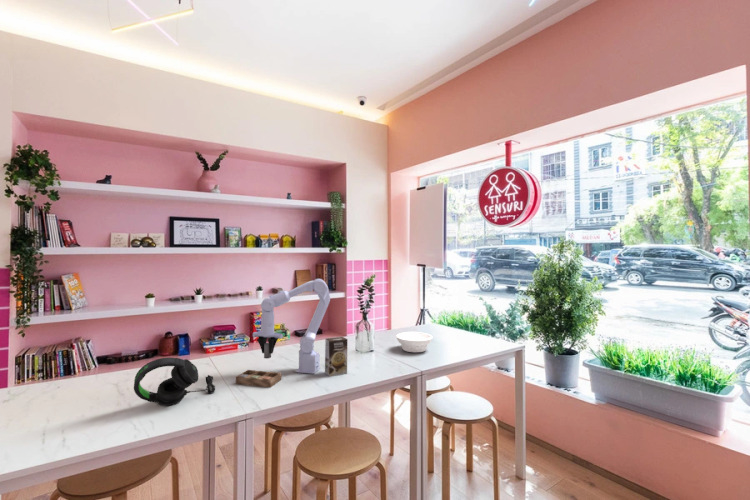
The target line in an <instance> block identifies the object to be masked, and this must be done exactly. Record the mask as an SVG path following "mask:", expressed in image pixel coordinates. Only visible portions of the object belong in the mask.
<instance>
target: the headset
mask: <svg viewBox="0 0 750 500" xmlns="http://www.w3.org/2000/svg"><path fill="white" fill-rule="evenodd" d="M163 367H165V368H166V367H172V369H171V372H170V375H171V377H169V378H167V379H164V380H163V381H161V382H160V383H159V385H158V386H157V390H156V392H153V391H149V390H147V389H145V388H143V387H142V385H141V382H142V381H143V379H144V378H145V377H146V375H147V374H148V373H150V372H152V371H154V370H156V369H159V368H163ZM133 381H134V382H133V391H134V393H135V394H136V396H137V397H138V398H140V399H141V400H143V401H146V402H150V403H153V404H154V403H156V404H158V405H160V406H162V407H171V406H175V405H178V404H179V403H180V402H182V401H183V399H184V398H185V396H187V394H191V393H198V392H205V391H206V392H207V393H208V394H209V395H211V394H214V393H215V392H216V385H214V384H213V382H214V376H213V375H209V374H207V376H205V384H206V387H205V389H203V390H187V388H189V387H190V386H192V384H195V383H197V382H198V381H199V371H198V368H197V366H196V364H194V363H192V361H190V360H189V359H188V358H186V359H182V358H178V357H161V358H157V359H154V360H152V361H150V362H148V363H146V364H144V365H142V367H141V368H140V369H138V371H137V372H136V374H135V377H134V380H133Z"/></svg>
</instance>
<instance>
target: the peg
mask: <svg viewBox="0 0 750 500" xmlns="http://www.w3.org/2000/svg"><path fill="white" fill-rule="evenodd" d="M263 358H264V359H271V358H272V354H269V342H266V343H265V344H264V353H263Z"/></svg>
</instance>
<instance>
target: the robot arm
mask: <svg viewBox="0 0 750 500" xmlns="http://www.w3.org/2000/svg"><path fill="white" fill-rule="evenodd" d="M304 292H312V293H313V292H314V293H316V295H317V297H318V299H319V302H318V303H317V305H316V308H315V310H314V313H313V315H312V317H311V320H310V322H309V325H308V327H307V329H306V331H305V333H304V334H303V335H302V337H300V340H299V348H300V349H299V350H298V368H297V369H296V370H295V373H303V374H304V373H305V374H316V373H317V372H318V371H319V370H320V369H321V366H320V365H321V364H320V353H319V352H316V351H315V349H314V347H315V346H314V343H315V341H316V336H317V333H318V330H319V328H320V326H321V323H322V321H323V318H324V316H325V314H326V311H327V309H328V307H329V306H330V302H331V296H330V290H329V287H328V285H327V283H326V281H325V280H323V279H322V278H315V279H314V280H310V281H307V282H304V283H302V284H301V285H299V286H296V287H295V288H293V289H291V290H279V291H278V292H277V293H276V294H273V295H271V294H270V295H269V296H268V297H265V298H264V299H263V300H262V302H261V304H260V308H261V319H260V320H261V325H260V326H261V327H260V328H261V330H260V331H254V332H252V337H253V338H257V339H256V342H258V345H259V347H260V349H261V353H262V354H264V344H265V343H269V354H271V355H273V354H274V350H275V347H276V344H277V342H278V340H281V339H283V337H284V335H283V333H280V332H275V313H274V308H278V307H279V306H281V305H284V304H286V303H288V302H290V300H291V298H294V297H295V296H297V295H300V294H302V293H304Z"/></svg>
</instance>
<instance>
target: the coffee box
mask: <svg viewBox="0 0 750 500" xmlns="http://www.w3.org/2000/svg"><path fill="white" fill-rule="evenodd" d="M324 339H325V344H324V346H325V347H324V348H325V349H324V356H325V357H324V373H325V374H326V375H327V376H328V377H334V376H340V375H344V374H345V375H346V374H348V338H346V337H343V336H336V337H328V338H324Z"/></svg>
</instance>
